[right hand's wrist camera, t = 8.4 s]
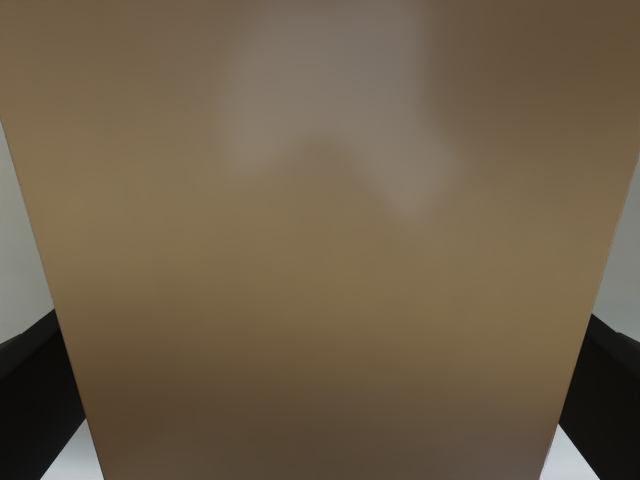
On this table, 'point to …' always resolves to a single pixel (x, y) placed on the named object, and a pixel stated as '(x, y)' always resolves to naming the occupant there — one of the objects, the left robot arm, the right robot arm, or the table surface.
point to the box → (322, 223)
